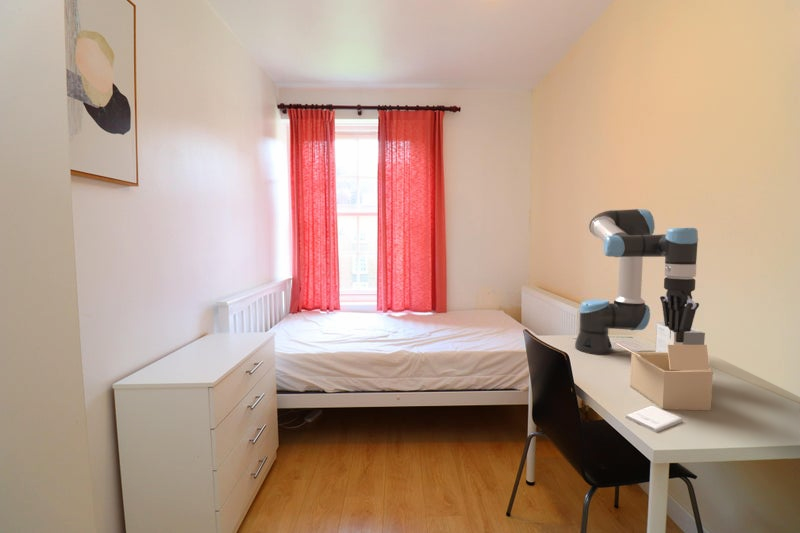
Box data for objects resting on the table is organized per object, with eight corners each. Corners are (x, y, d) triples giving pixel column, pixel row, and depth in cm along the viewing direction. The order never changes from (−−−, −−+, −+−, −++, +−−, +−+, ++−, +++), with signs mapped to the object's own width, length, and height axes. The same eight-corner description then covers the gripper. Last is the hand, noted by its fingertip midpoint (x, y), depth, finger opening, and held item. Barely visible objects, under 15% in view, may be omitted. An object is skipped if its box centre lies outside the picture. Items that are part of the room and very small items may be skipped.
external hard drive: (682, 423, 96) (655, 434, 91) (651, 410, 104) (625, 419, 99) (682, 418, 96) (655, 428, 91) (651, 405, 104) (625, 414, 99)
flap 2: (667, 344, 102) (667, 344, 102) (705, 344, 102) (706, 344, 101) (669, 369, 102) (670, 369, 101) (708, 369, 101) (709, 370, 100)
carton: (629, 385, 119) (630, 352, 118) (672, 386, 118) (674, 352, 117) (662, 409, 103) (664, 370, 102) (713, 410, 102) (715, 370, 101)
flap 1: (632, 352, 116) (632, 353, 116) (616, 342, 116) (615, 343, 116) (659, 367, 103) (658, 368, 103) (641, 356, 103) (640, 356, 103)
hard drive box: (702, 390, 115) (706, 333, 113) (677, 388, 117) (680, 332, 115) (675, 372, 130) (678, 322, 129) (653, 371, 132) (655, 321, 130)
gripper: (652, 275, 111) (649, 344, 113) (683, 280, 98) (679, 358, 100) (676, 275, 111) (673, 344, 112) (710, 279, 98) (705, 358, 100)
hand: (676, 351), depth 106 cm, fingers closed
